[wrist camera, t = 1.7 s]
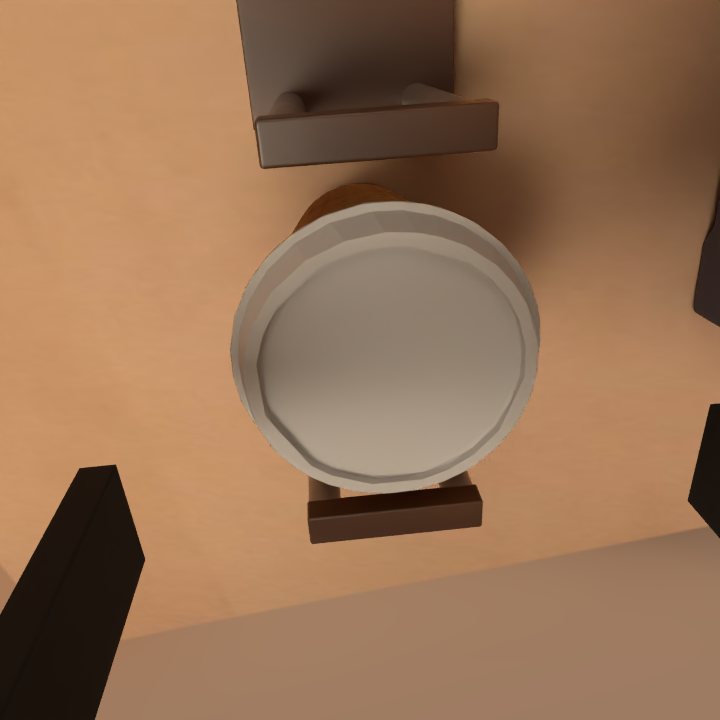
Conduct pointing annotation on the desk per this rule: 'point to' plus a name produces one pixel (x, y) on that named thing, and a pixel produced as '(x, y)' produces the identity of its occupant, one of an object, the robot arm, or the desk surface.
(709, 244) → the calculator
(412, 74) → the bookends
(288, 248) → the disposable coffee cup
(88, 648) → the robot arm
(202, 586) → the desk surface
